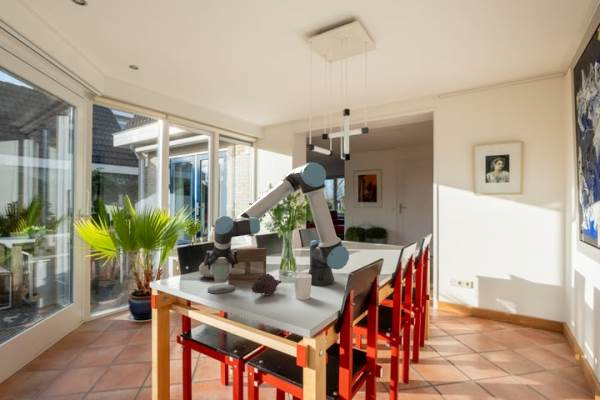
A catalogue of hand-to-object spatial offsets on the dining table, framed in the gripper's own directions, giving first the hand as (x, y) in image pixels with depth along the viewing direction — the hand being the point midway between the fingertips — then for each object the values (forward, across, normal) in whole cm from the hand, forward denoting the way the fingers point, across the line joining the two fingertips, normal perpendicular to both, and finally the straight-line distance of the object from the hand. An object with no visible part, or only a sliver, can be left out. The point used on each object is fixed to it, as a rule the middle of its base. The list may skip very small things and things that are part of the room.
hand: (220, 271), depth 150 cm
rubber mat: (+4, 0, -8) cm, 9 cm away
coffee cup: (+1, 0, -6) cm, 6 cm away
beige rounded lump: (+23, -2, +11) cm, 26 cm away
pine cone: (-6, +20, -18) cm, 28 cm away
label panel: (+11, +14, 0) cm, 18 cm away
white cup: (-12, +35, -24) cm, 44 cm away
